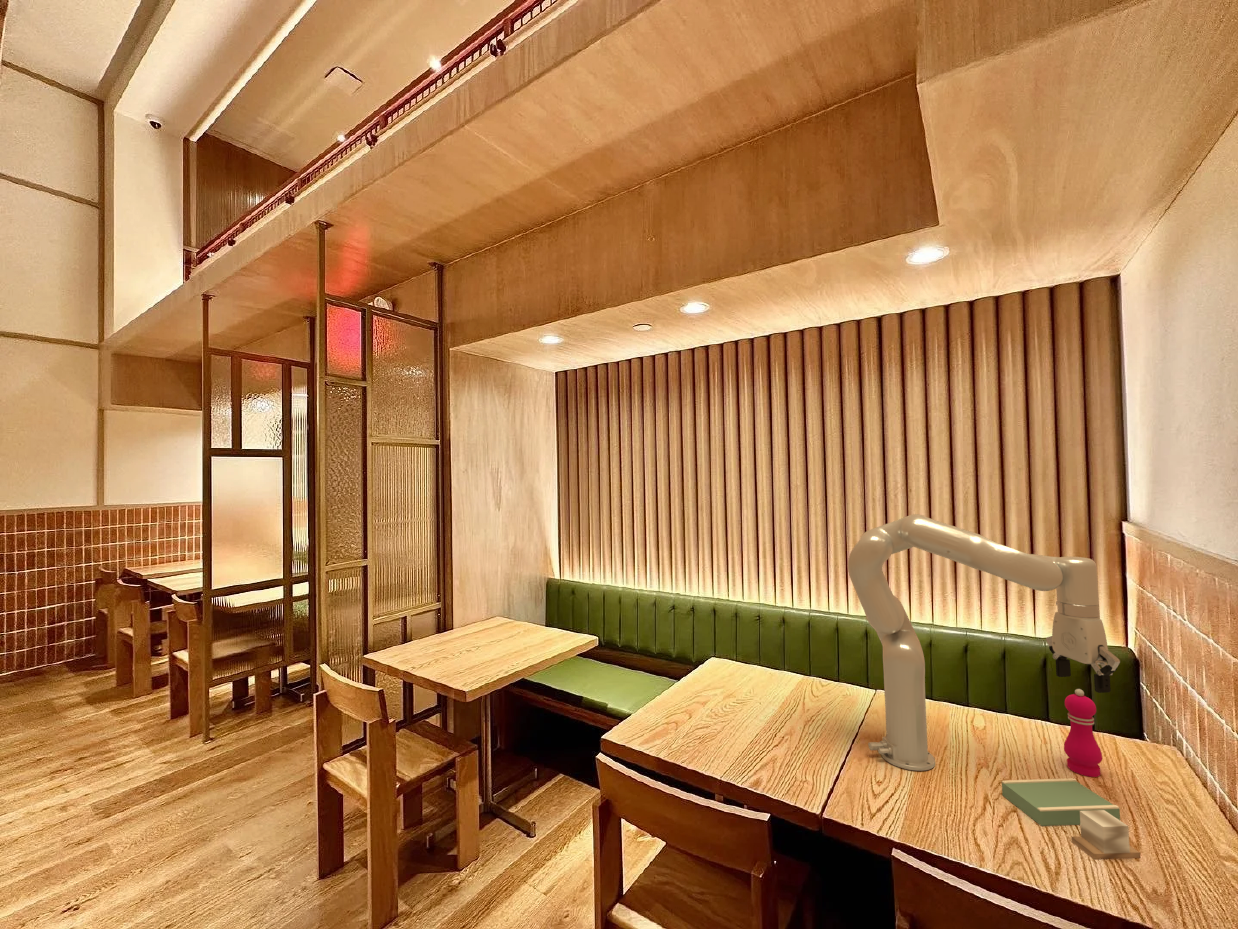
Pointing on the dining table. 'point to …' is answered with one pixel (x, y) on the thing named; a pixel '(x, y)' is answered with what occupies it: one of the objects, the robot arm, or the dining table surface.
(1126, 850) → the butter dish
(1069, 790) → the dock
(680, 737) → the dining table surface
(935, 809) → the dining table surface
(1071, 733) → the pepper mill
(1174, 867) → the dining table surface
